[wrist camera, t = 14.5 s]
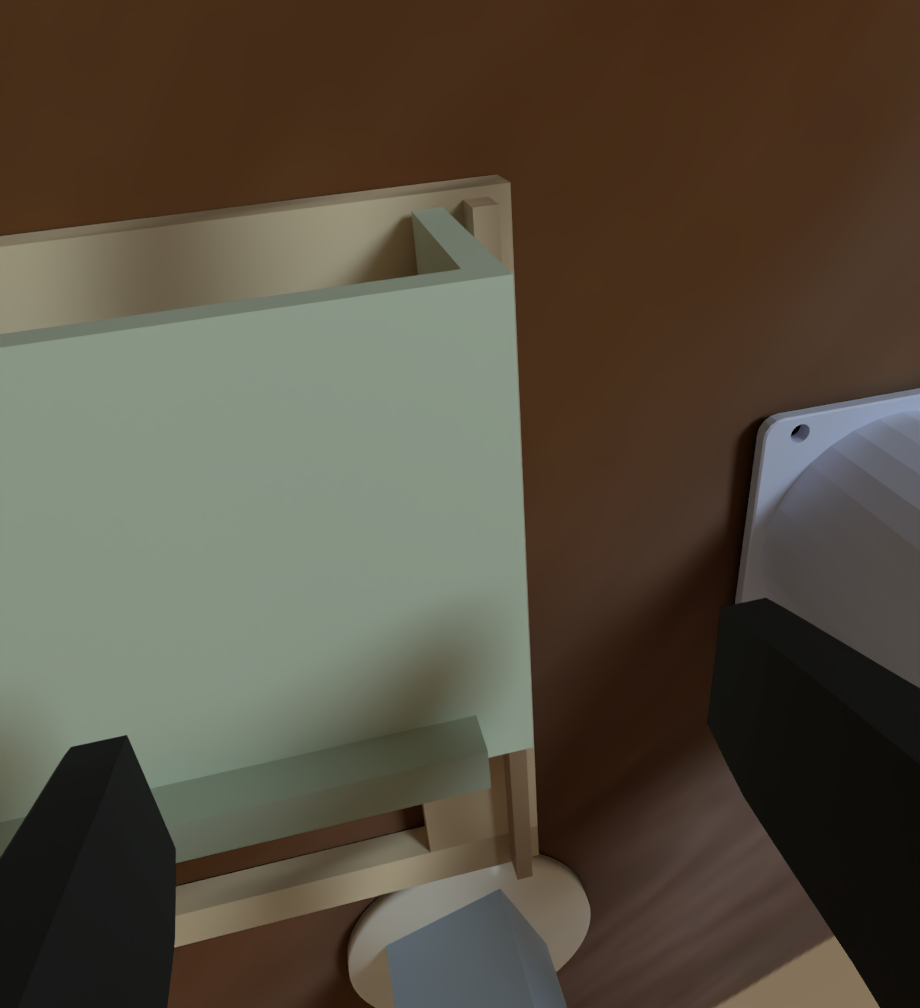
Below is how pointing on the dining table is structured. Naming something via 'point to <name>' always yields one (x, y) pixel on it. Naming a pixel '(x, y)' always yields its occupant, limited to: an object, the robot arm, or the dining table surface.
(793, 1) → the dining table surface
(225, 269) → the beige open frame
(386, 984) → the cream saucer
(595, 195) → the dining table surface
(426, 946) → the slate-blue block
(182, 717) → the sliding cover
